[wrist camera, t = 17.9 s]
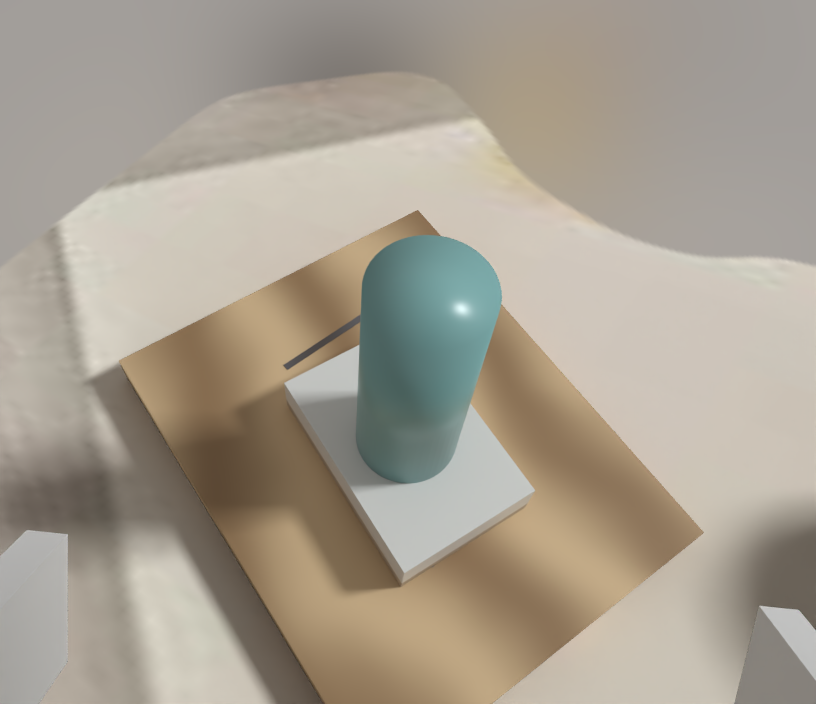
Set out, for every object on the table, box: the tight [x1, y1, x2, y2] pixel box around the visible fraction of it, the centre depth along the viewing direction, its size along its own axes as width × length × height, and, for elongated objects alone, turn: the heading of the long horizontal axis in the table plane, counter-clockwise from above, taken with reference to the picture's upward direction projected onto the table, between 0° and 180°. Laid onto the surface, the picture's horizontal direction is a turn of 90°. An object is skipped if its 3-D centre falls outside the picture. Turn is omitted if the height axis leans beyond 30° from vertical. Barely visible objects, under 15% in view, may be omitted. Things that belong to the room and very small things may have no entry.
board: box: [119, 210, 704, 704], centre depth 33 cm, size 16×20×2 cm
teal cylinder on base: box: [284, 235, 535, 586], centre depth 27 cm, size 6×9×12 cm, turn 33°
